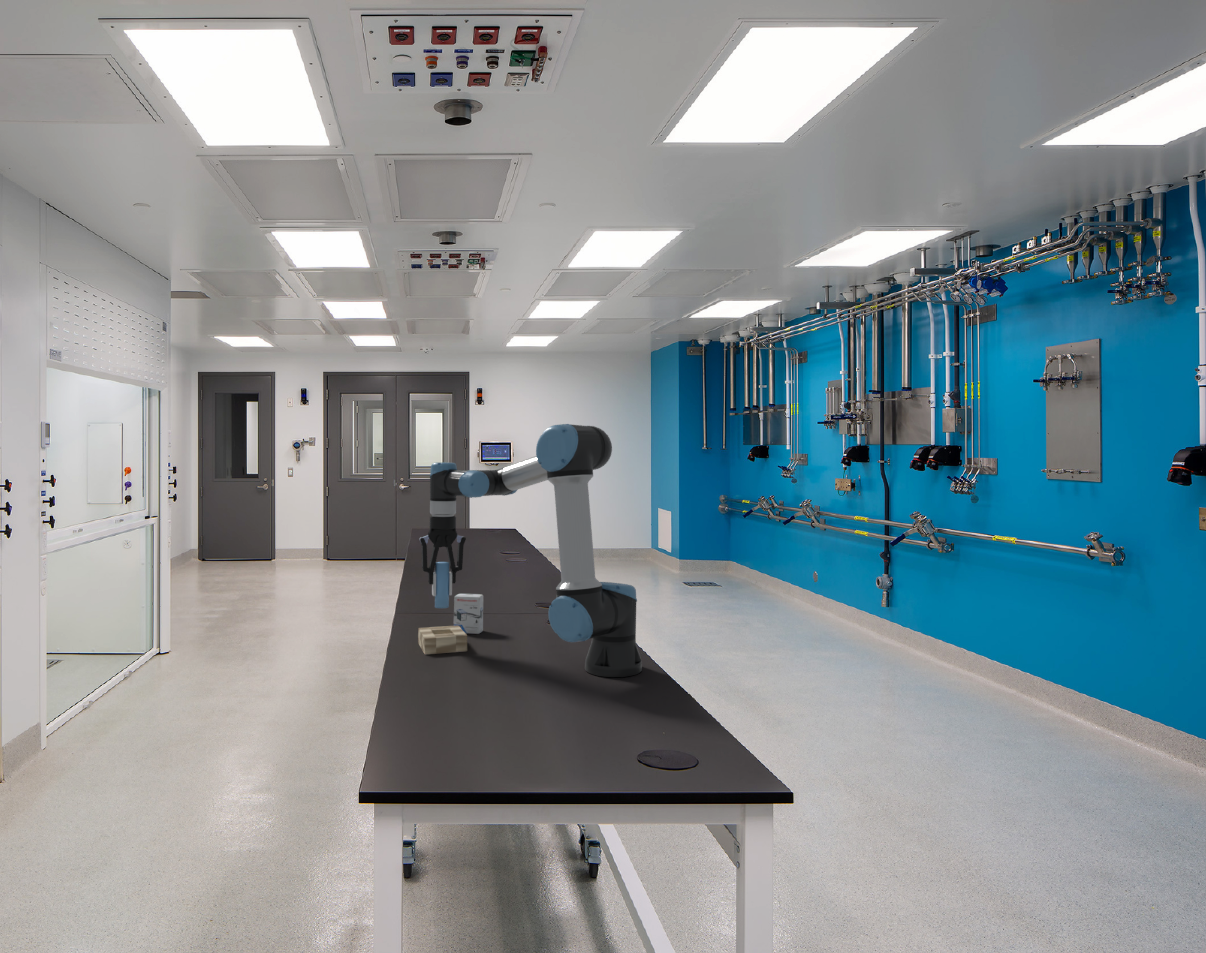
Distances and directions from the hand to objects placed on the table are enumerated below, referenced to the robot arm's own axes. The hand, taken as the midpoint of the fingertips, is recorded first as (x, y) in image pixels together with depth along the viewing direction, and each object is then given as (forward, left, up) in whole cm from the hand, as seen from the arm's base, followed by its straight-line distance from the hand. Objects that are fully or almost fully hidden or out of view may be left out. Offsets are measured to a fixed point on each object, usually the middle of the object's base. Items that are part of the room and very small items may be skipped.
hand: (441, 594), depth 227 cm
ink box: (+17, -11, -16) cm, 26 cm away
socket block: (0, 0, -15) cm, 15 cm away
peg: (0, 0, -4) cm, 4 cm away
